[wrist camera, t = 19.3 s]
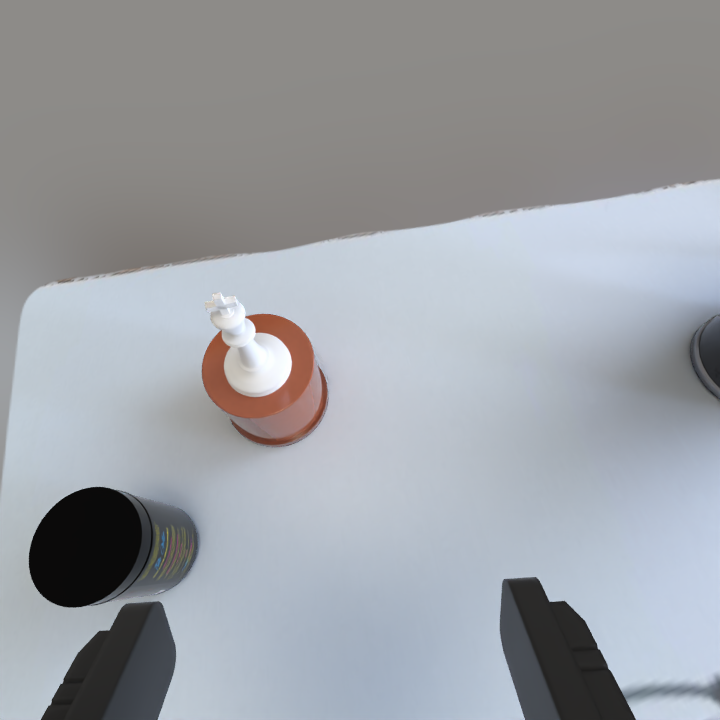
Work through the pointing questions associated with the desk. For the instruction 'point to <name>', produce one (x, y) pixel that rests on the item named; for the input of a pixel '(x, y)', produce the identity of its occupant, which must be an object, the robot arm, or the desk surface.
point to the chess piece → (248, 350)
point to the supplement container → (110, 548)
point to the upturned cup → (284, 406)
